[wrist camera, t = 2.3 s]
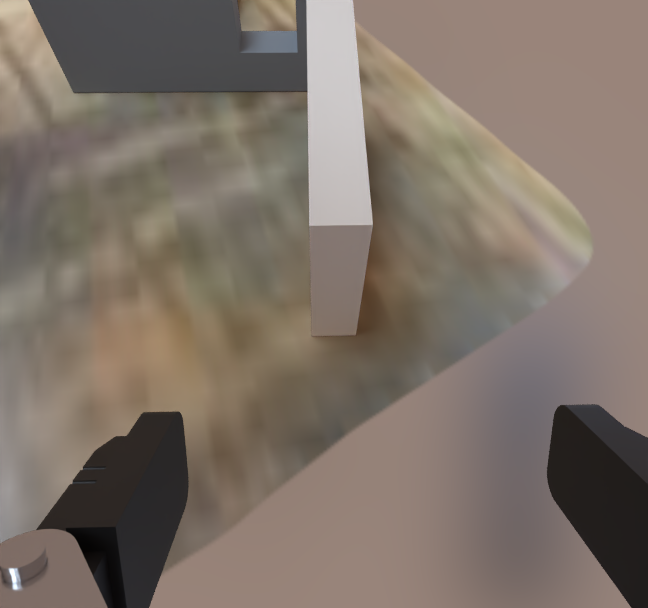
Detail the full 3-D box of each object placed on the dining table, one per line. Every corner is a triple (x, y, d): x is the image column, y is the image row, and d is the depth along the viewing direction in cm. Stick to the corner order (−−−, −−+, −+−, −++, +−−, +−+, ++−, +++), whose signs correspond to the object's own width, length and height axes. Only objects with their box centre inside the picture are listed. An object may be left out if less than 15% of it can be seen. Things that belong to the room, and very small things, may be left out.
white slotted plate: (355, 335, 29) (372, 225, 20) (311, 336, 29) (309, 225, 20) (343, 134, 37) (351, -8, 28) (308, 135, 36) (306, -8, 28)
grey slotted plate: (73, 92, 38) (27, -2, 32) (80, 71, 40) (37, -24, 33) (337, 90, 39) (341, -3, 33) (336, 69, 40) (339, -24, 34)
